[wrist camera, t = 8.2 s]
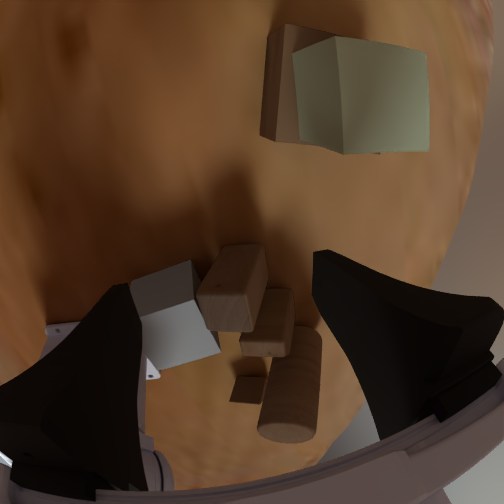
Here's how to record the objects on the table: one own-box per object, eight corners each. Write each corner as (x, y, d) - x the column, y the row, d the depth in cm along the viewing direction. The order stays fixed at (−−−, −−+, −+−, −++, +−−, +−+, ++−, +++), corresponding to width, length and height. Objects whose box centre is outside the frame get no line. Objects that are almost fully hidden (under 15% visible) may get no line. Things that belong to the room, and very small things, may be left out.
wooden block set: (207, 235, 24) (147, 319, 15) (318, 229, 22) (315, 324, 13) (245, 379, 32) (222, 457, 23) (321, 382, 30) (314, 466, 21)
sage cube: (299, 139, 16) (343, 154, 11) (292, 53, 13) (334, 36, 9) (374, 135, 16) (428, 151, 12) (369, 58, 14) (425, 52, 9)
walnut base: (258, 135, 19) (275, 141, 15) (266, 37, 16) (285, 23, 12) (349, 144, 20) (380, 154, 17) (358, 57, 17) (390, 52, 14)
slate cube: (159, 326, 24) (157, 370, 20) (131, 280, 21) (122, 322, 17) (213, 308, 24) (221, 352, 20) (190, 259, 22) (193, 299, 17)
